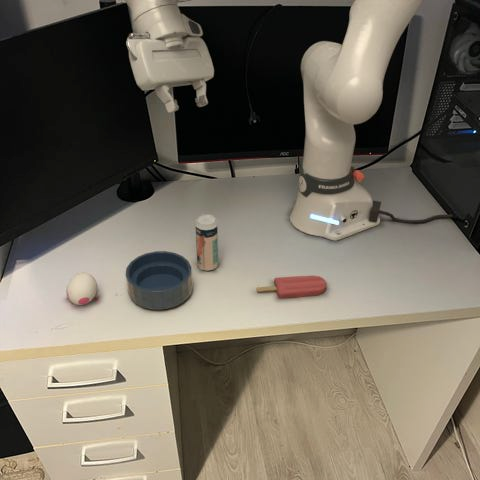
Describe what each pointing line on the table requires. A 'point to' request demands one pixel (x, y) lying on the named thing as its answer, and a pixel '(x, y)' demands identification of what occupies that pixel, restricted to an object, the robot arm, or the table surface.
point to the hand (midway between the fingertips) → (189, 108)
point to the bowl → (159, 280)
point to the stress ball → (81, 288)
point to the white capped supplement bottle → (207, 242)
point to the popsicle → (297, 286)
